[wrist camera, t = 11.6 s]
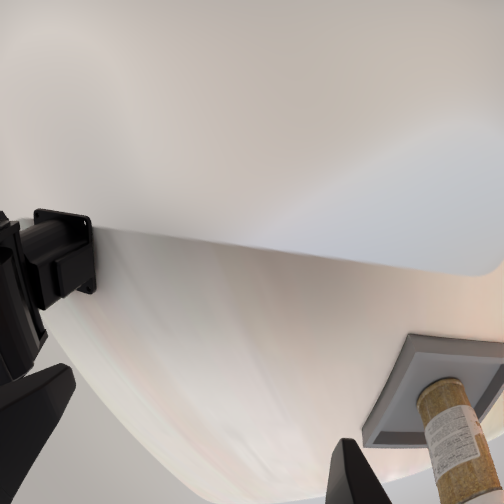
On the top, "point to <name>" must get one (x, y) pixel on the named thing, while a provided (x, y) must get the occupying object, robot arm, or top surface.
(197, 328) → the top surface
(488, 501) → the spice shaker
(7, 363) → the robot arm
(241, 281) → the top surface
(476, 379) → the tray
